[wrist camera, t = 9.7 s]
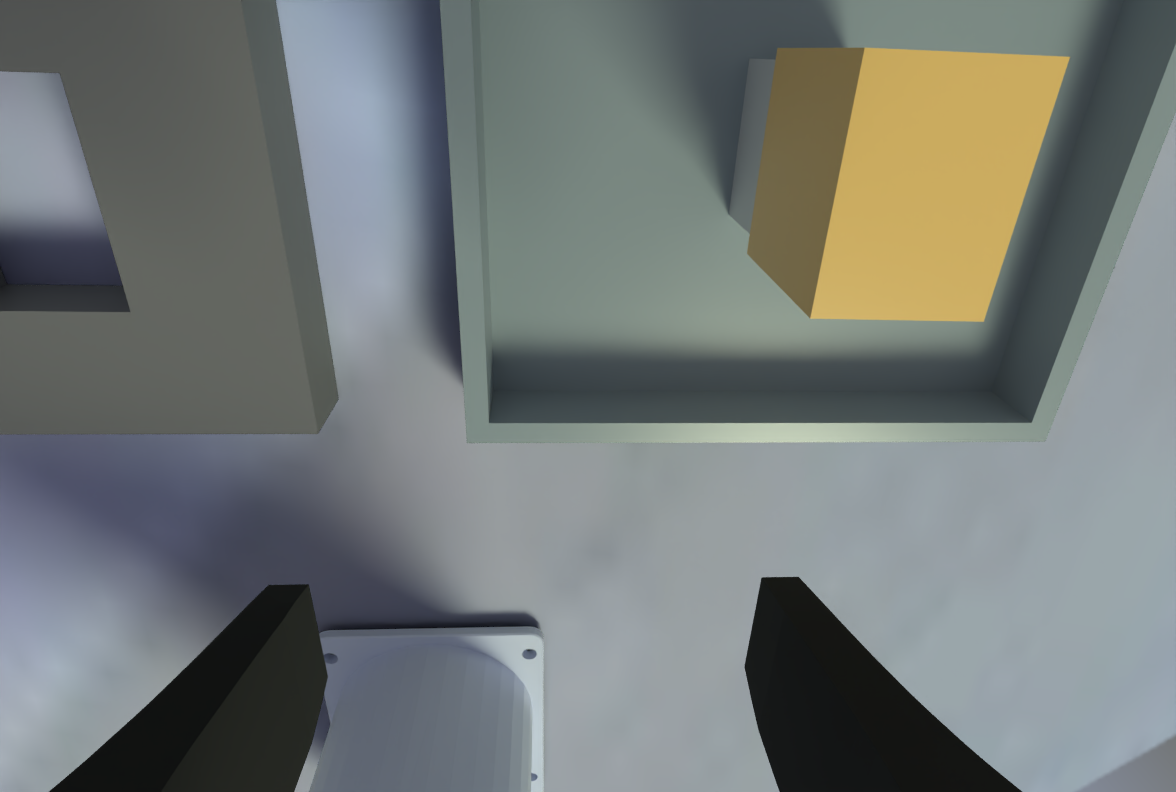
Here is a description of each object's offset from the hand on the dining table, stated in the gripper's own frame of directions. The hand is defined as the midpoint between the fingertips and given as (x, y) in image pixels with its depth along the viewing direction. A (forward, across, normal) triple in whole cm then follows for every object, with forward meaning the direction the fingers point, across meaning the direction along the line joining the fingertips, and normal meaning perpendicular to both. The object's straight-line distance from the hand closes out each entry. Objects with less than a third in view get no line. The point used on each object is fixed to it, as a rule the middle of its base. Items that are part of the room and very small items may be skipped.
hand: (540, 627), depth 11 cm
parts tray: (+10, -6, -6) cm, 13 cm away
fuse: (+9, -6, -6) cm, 13 cm away
